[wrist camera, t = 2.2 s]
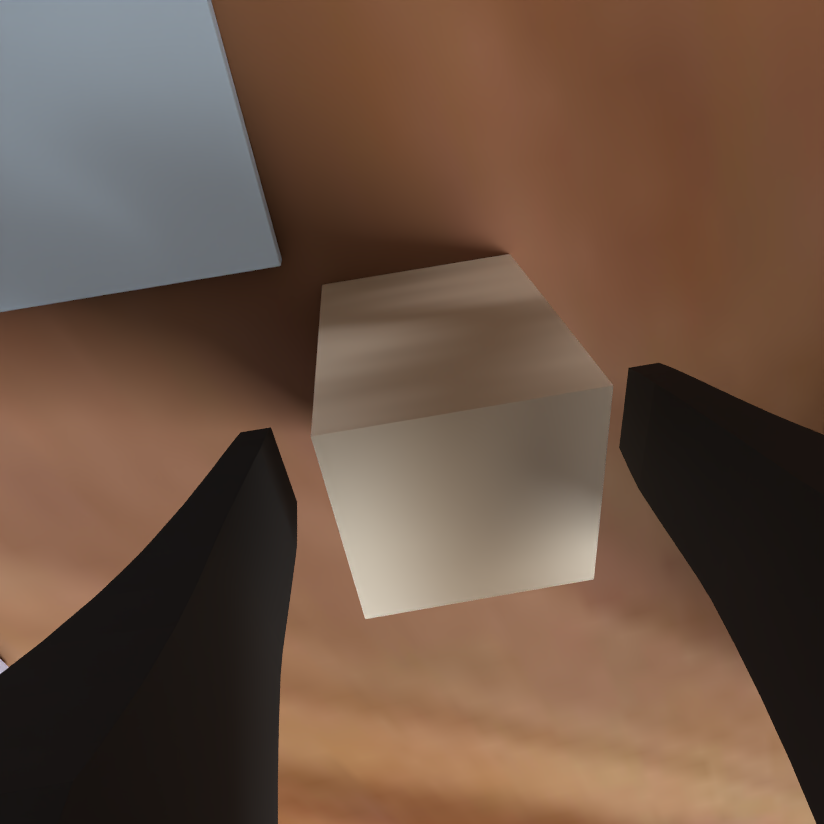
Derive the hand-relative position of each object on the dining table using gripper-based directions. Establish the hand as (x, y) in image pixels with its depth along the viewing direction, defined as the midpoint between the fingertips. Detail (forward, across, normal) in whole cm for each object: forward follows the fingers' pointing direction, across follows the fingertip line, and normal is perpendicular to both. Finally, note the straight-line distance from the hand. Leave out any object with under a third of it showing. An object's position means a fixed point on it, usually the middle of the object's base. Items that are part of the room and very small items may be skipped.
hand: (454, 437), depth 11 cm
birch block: (+4, 0, 0) cm, 4 cm away
